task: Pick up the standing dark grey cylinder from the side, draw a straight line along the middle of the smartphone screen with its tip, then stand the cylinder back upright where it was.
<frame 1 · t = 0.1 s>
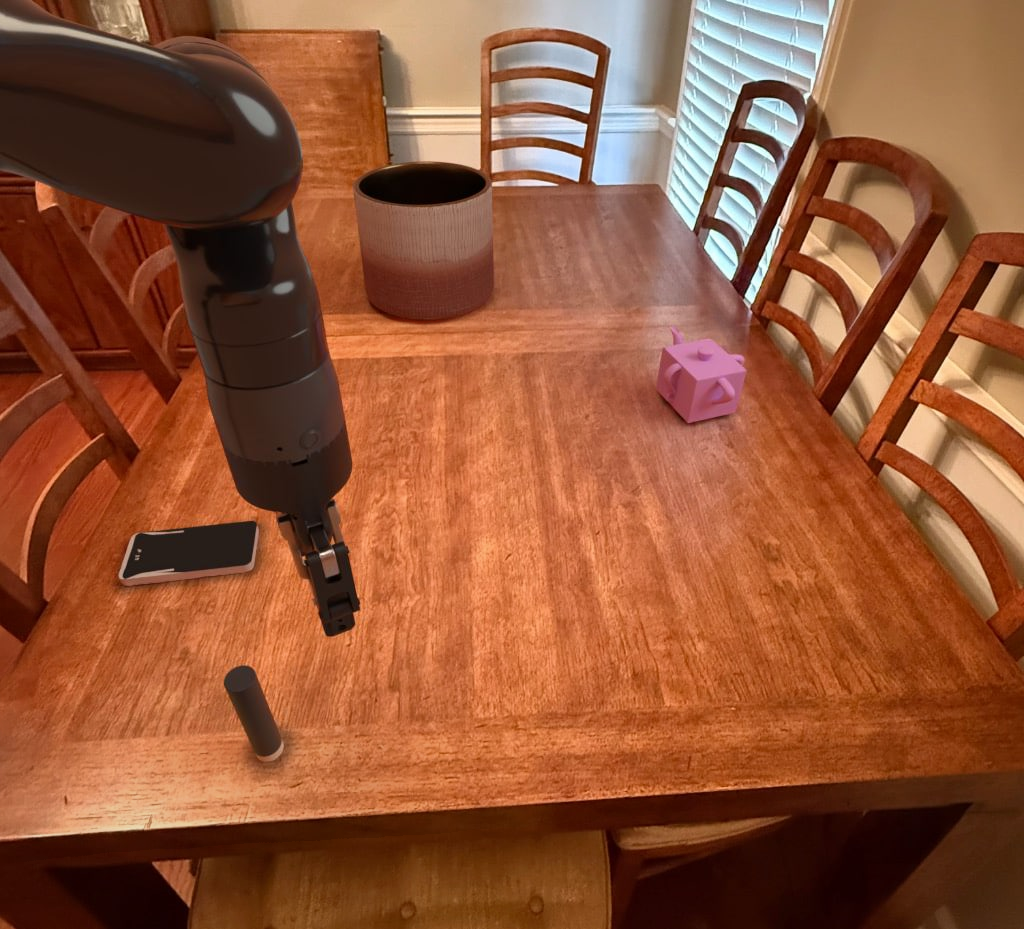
hand: (323, 588, 53), 22 cm above the table, tool pointing down, fingers open, 8 cm apart
teapot: (694, 402, 112), on the table
smartphone: (193, 556, 85), on the table
planter: (430, 295, 139), on the table
dark grey cylinder: (269, 749, 66), on the table
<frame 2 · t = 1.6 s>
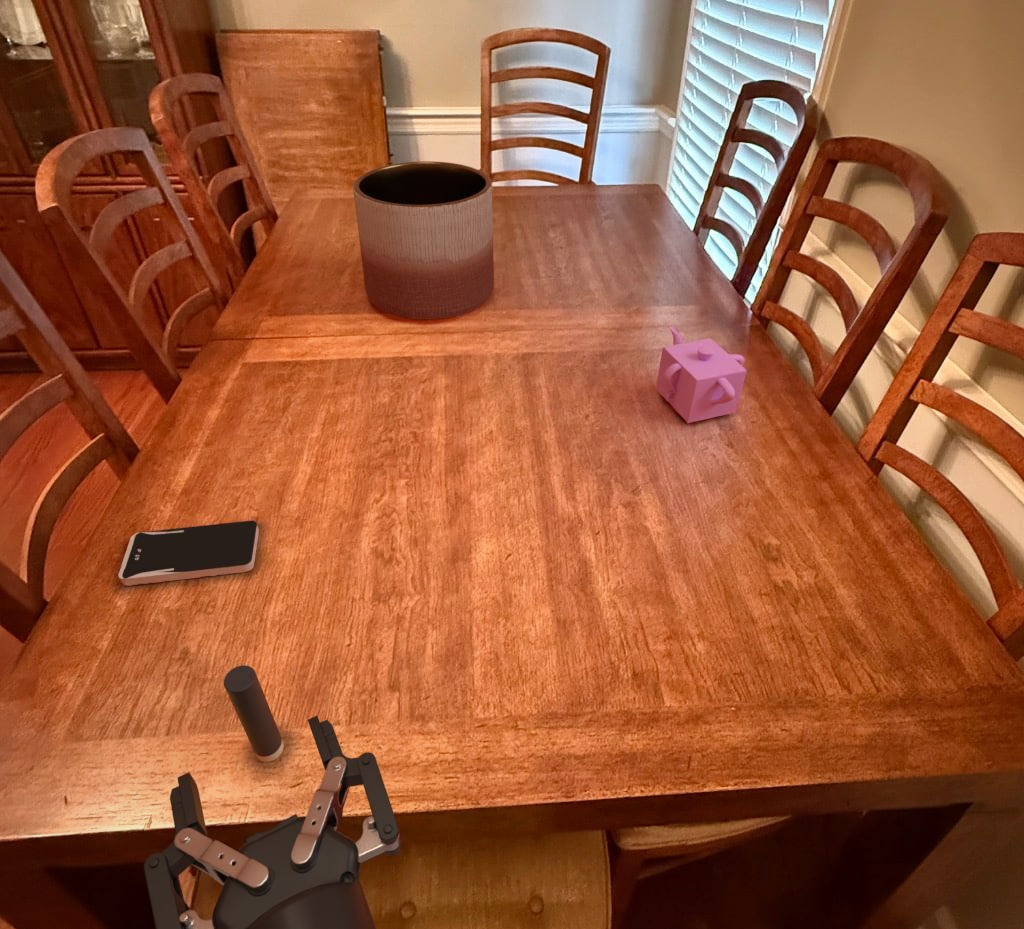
hand: (252, 750, 47), 18 cm above the table, tool horizontal, fingers open, 8 cm apart
nothing on the table moved.
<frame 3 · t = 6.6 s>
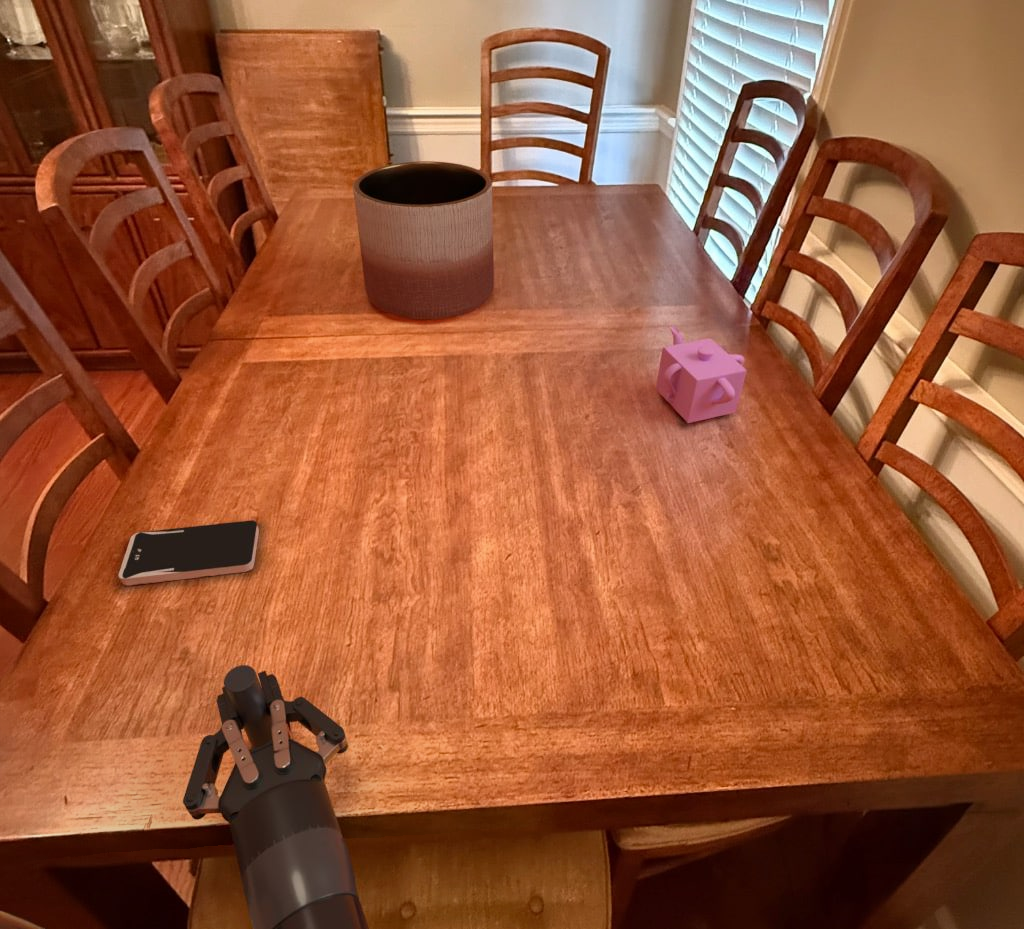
hand: (245, 684, 64), 7 cm above the table, tool horizontal, fingers closed on dark grey cylinder, 2 cm apart
dark grey cylinder: (269, 749, 66), on the table, touching gripper
everything else where it was.
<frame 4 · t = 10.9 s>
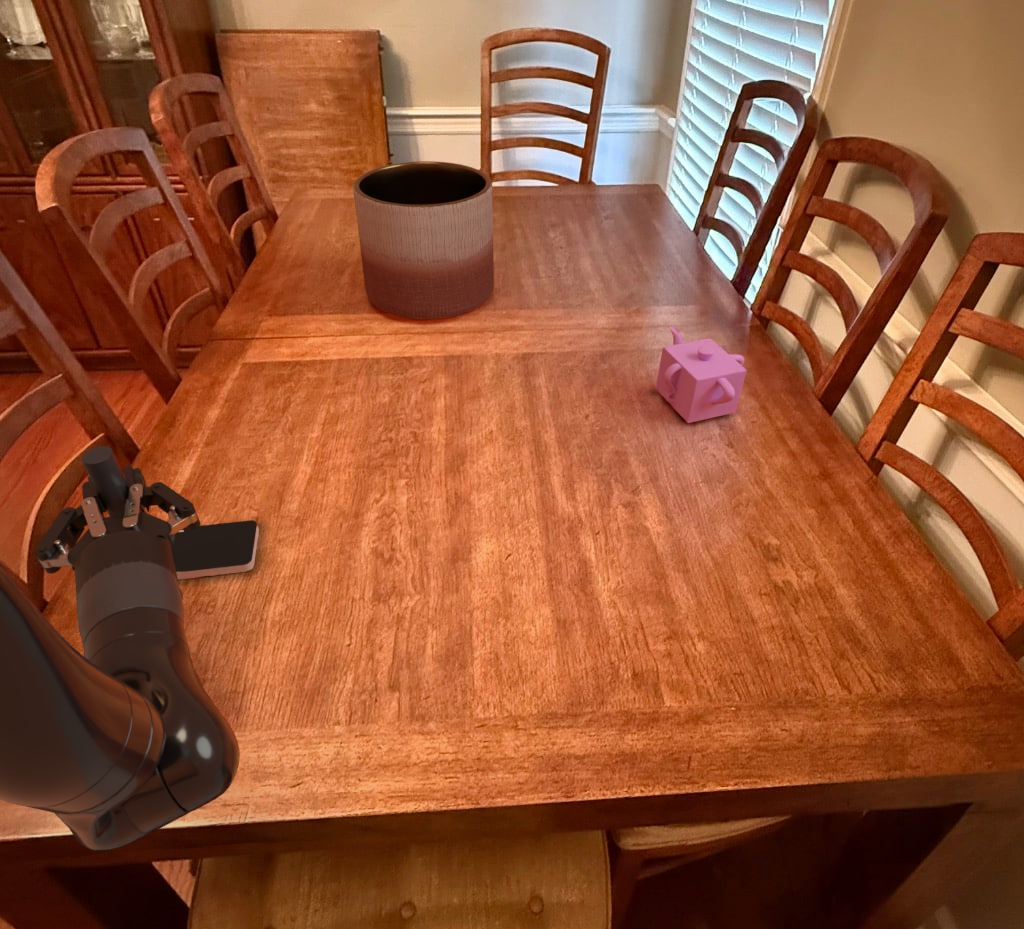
hand: (113, 477, 69), 18 cm above the table, tool horizontal, fingers closed on dark grey cylinder, 2 cm apart
dark grey cylinder: (140, 544, 72), point 11 cm above the table, touching gripper
everything else where it was.
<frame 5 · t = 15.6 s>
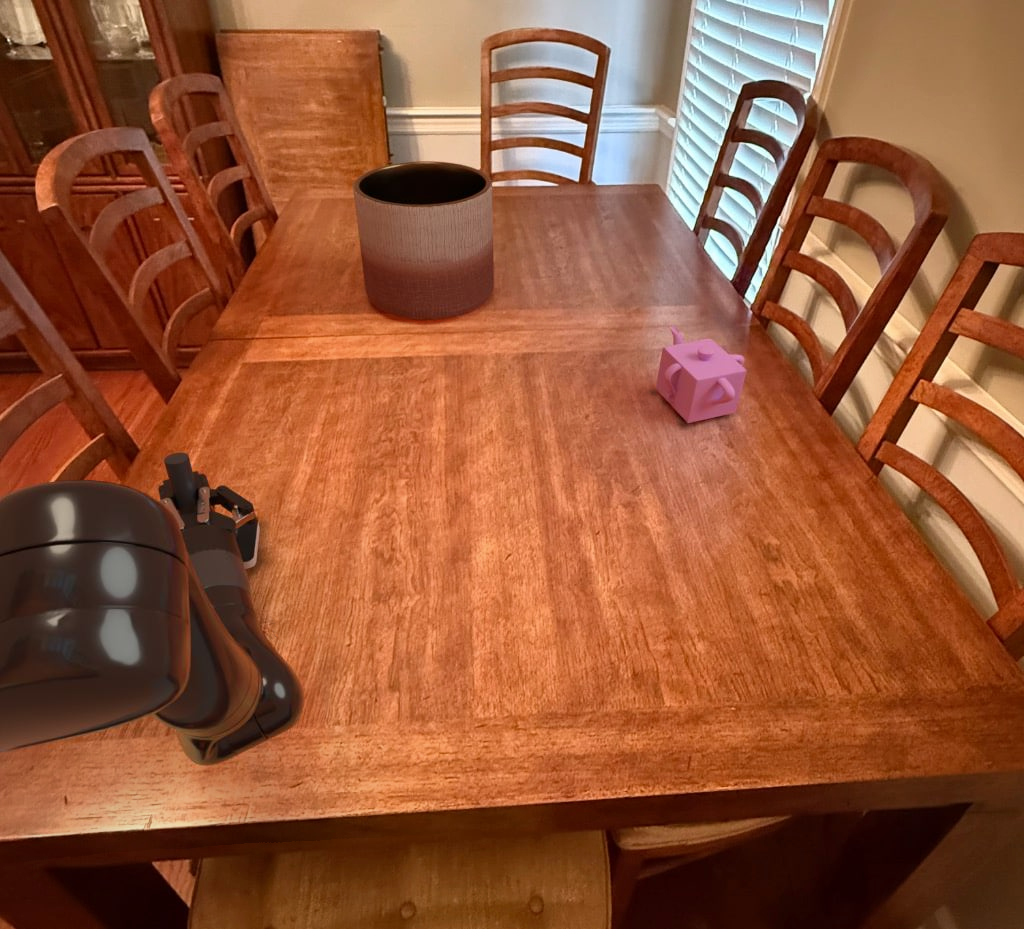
hand: (182, 481, 83), 8 cm above the table, tool horizontal, fingers closed on dark grey cylinder, 2 cm apart
dark grey cylinder: (198, 543, 85), point 2 cm above the table, tilted 10°, touching gripper
everything else where it was.
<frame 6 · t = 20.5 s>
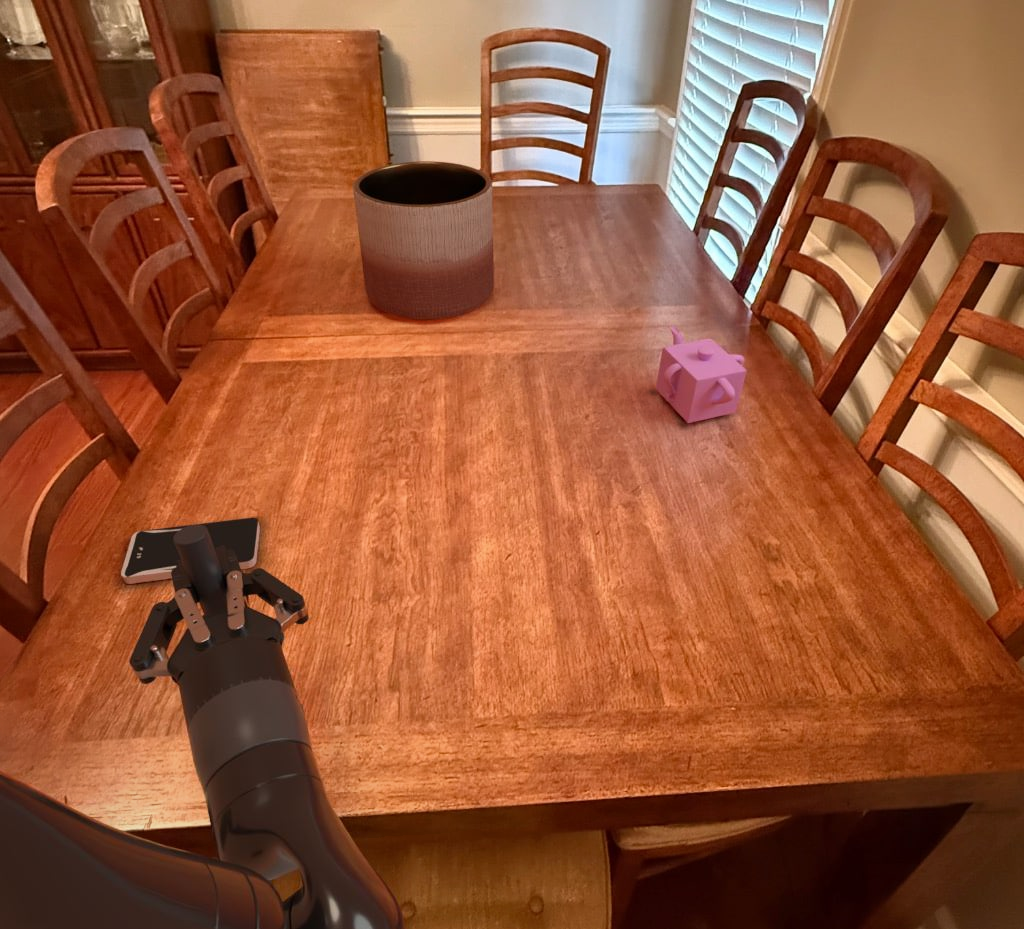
hand: (203, 560, 61), 18 cm above the table, tool horizontal, fingers closed on dark grey cylinder, 2 cm apart
dark grey cylinder: (231, 638, 62), point 11 cm above the table, tilted 9°, touching gripper
everything else where it was.
when the fingers open (7 cm above the table, at t = 24.6 s): dark grey cylinder stays where it is, on the table.
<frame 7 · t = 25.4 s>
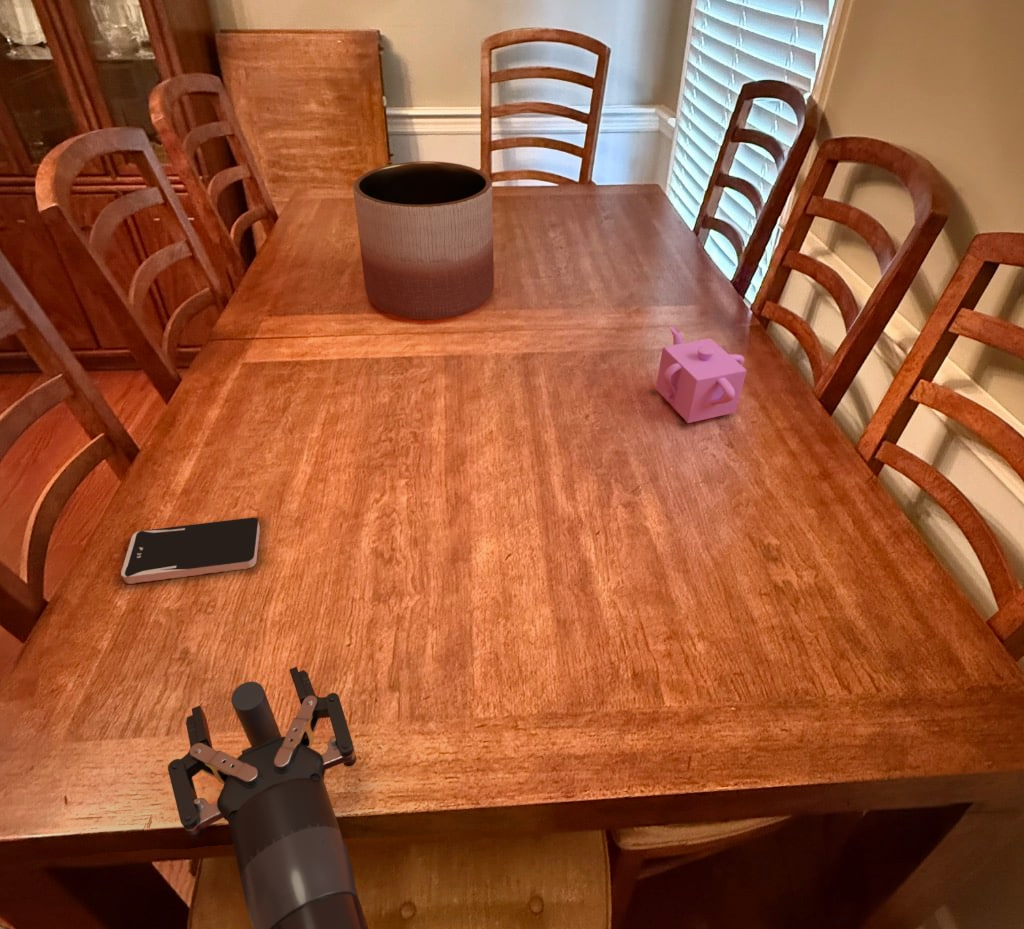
hand: (247, 691, 63), 7 cm above the table, tool horizontal, fingers open, 8 cm apart
dark grey cylinder: (273, 758, 66), on the table
everything else where it was.
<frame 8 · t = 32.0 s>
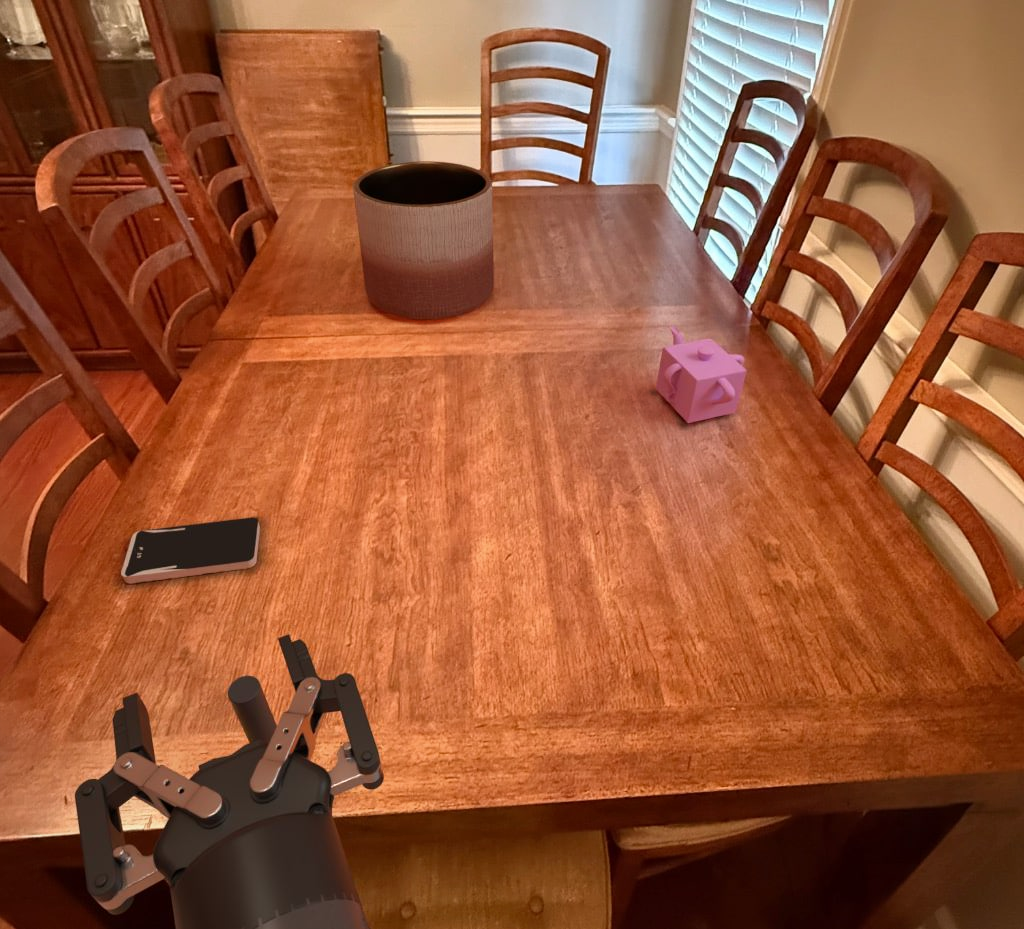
hand: (213, 672, 41), 28 cm above the table, tool horizontal, fingers open, 8 cm apart
nothing on the table moved.
at the end: dark grey cylinder inside the target area (1.2 cm from its centre), on the table; dark grey cylinder tilted 0°; smartphone moved 0.5 cm from its start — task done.
